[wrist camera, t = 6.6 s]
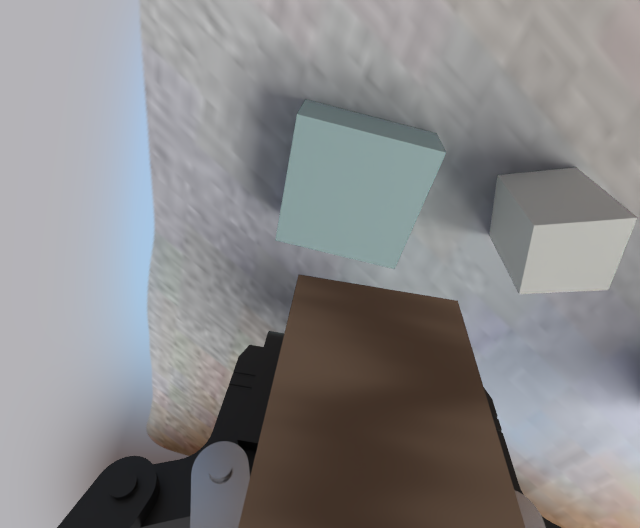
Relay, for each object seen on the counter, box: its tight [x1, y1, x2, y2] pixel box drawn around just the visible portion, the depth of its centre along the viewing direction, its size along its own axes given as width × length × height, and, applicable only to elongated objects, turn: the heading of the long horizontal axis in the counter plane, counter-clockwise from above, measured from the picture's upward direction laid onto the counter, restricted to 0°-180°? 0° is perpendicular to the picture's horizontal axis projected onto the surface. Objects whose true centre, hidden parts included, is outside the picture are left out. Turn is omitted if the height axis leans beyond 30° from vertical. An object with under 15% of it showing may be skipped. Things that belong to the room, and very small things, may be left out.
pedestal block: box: [275, 99, 446, 269], centre depth 25 cm, size 9×9×4 cm
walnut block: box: [238, 275, 525, 528], centre depth 10 cm, size 5×5×7 cm
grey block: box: [489, 167, 637, 294], centre depth 24 cm, size 5×5×7 cm
